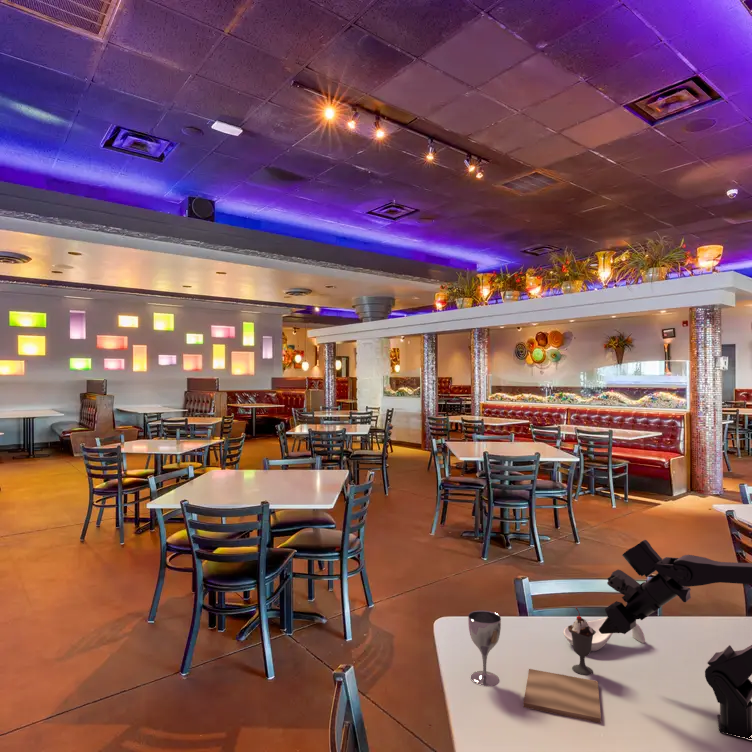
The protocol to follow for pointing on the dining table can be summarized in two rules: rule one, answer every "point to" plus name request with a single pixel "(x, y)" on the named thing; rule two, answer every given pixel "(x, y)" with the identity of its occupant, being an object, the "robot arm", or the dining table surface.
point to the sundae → (581, 643)
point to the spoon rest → (602, 639)
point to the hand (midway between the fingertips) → (608, 626)
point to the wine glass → (484, 641)
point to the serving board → (562, 695)
